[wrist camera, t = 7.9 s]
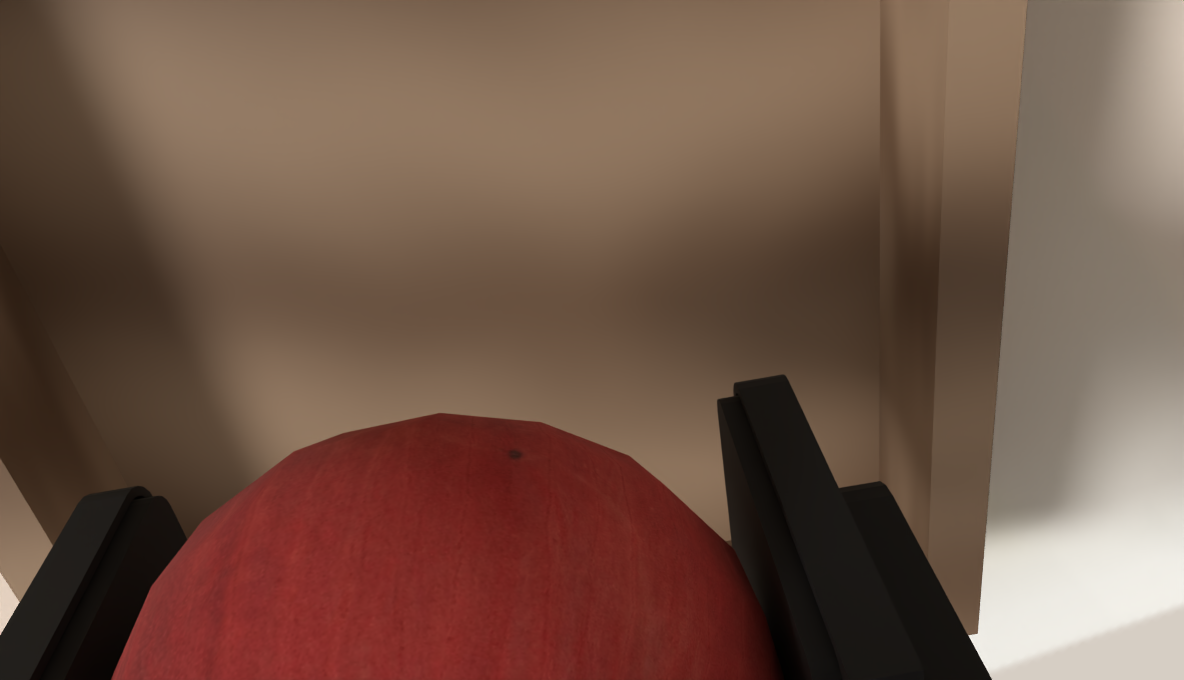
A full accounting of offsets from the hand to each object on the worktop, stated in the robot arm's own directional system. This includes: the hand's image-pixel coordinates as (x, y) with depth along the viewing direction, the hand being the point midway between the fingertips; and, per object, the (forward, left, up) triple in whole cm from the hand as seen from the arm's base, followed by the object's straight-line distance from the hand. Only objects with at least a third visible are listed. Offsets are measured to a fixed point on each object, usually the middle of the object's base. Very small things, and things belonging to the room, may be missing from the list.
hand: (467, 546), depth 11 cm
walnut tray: (0, 0, -7) cm, 7 cm away
